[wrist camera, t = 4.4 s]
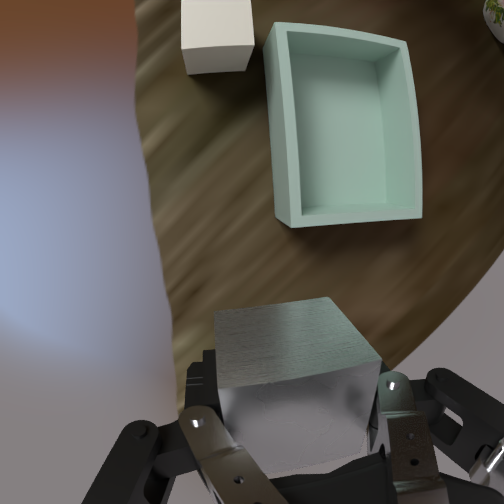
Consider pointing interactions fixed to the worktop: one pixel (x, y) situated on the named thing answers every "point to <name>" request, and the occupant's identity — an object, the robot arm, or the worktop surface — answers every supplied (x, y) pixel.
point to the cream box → (216, 35)
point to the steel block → (294, 382)
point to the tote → (341, 126)
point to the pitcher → (495, 17)
